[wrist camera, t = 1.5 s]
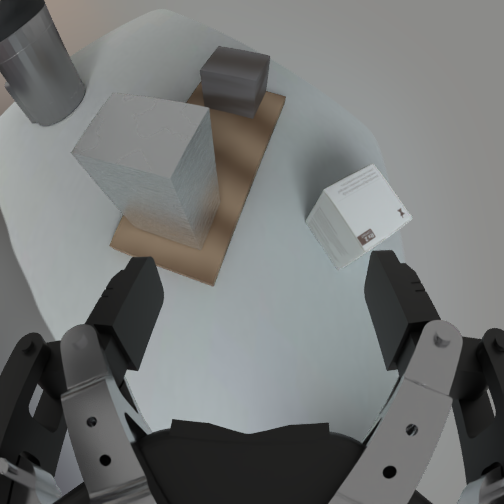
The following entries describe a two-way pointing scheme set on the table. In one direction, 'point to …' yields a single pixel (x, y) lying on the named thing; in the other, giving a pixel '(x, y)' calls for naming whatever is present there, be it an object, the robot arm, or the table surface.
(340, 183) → the skincare box
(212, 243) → the gauge base
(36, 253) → the table surface
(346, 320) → the table surface
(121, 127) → the grey rectangular block
